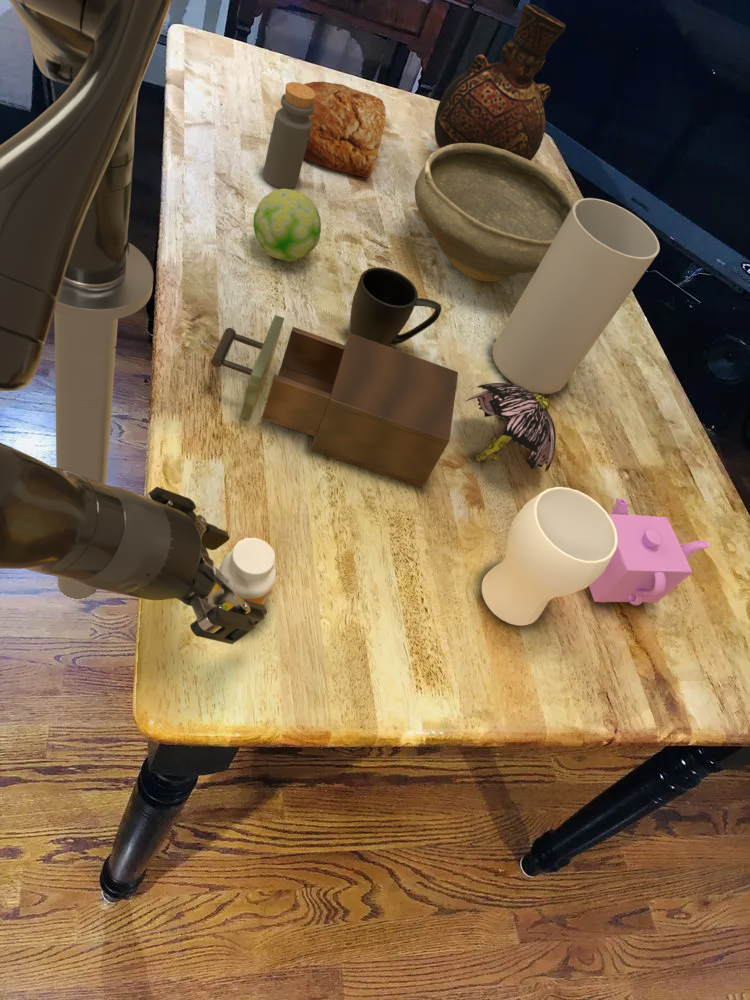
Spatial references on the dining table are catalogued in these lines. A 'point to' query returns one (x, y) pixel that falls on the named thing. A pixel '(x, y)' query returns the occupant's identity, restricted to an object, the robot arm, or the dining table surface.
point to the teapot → (643, 559)
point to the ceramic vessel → (502, 92)
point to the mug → (386, 307)
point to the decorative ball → (287, 224)
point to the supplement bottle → (249, 571)
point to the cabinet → (388, 412)
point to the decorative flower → (519, 422)
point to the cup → (549, 554)
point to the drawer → (288, 376)
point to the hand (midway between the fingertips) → (239, 577)
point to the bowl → (490, 209)
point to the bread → (345, 128)
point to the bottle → (289, 136)
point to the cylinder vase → (574, 294)
